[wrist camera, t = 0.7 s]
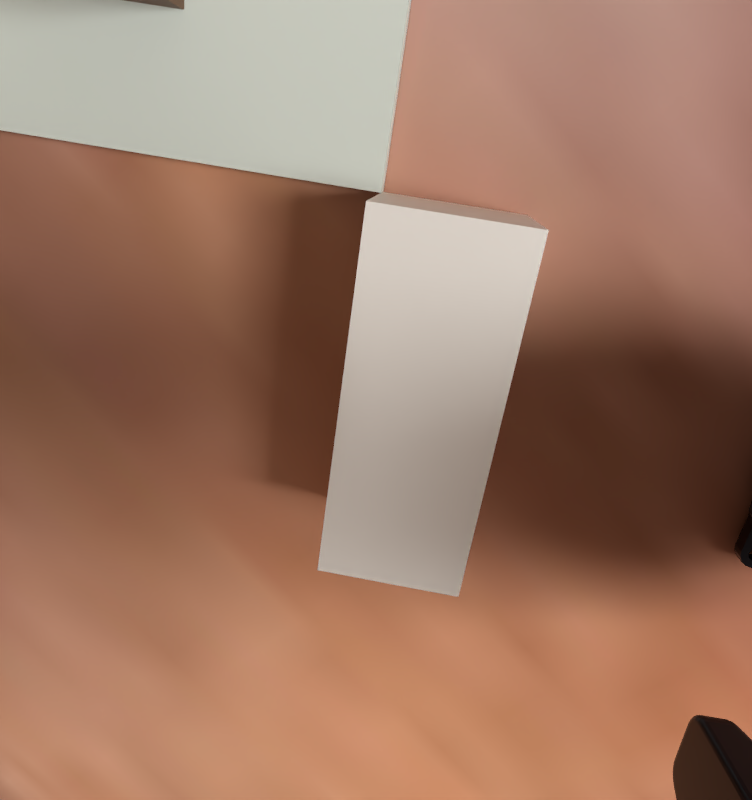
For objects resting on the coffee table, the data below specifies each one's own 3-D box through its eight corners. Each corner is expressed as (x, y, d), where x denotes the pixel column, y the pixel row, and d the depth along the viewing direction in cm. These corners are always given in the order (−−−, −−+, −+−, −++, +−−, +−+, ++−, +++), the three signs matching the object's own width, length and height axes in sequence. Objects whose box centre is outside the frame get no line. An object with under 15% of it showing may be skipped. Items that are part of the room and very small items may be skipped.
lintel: (526, 214, 17) (548, 230, 13) (456, 518, 21) (458, 597, 17) (383, 191, 17) (365, 200, 13) (340, 496, 21) (317, 569, 17)
